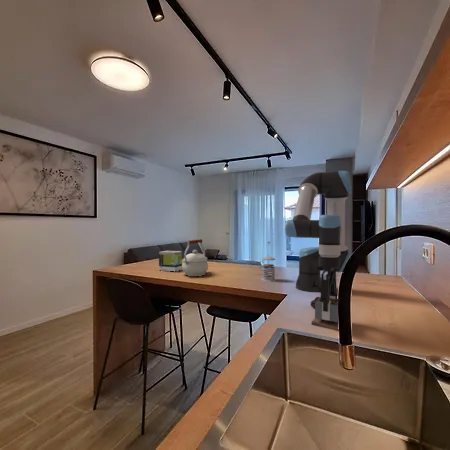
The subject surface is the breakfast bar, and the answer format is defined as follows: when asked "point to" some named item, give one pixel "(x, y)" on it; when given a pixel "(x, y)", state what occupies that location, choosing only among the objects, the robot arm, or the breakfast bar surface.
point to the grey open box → (332, 309)
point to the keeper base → (325, 323)
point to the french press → (268, 270)
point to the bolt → (315, 300)
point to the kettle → (195, 261)
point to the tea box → (170, 260)
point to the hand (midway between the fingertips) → (328, 315)
